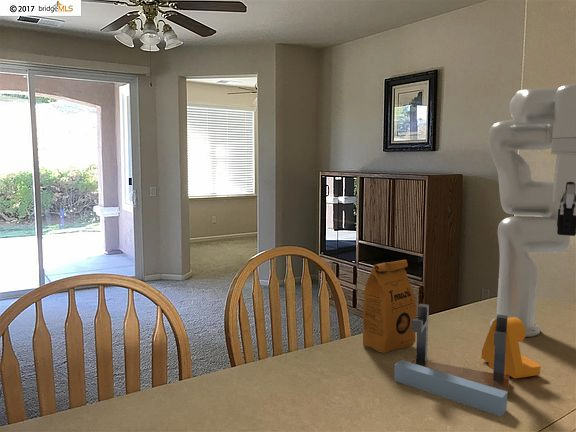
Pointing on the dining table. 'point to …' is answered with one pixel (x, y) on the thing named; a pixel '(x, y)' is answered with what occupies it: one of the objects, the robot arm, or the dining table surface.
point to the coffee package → (388, 308)
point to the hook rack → (477, 376)
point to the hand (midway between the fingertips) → (565, 231)
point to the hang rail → (452, 387)
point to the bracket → (511, 350)
